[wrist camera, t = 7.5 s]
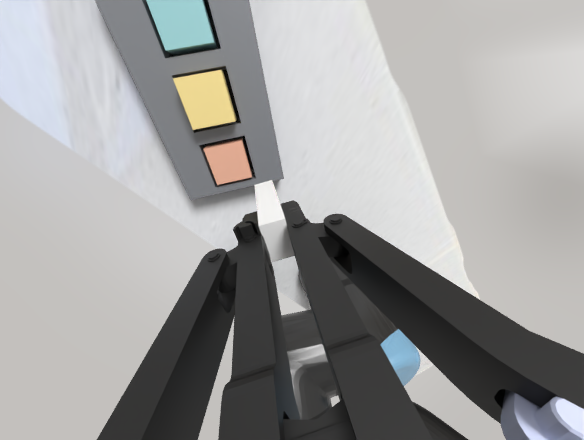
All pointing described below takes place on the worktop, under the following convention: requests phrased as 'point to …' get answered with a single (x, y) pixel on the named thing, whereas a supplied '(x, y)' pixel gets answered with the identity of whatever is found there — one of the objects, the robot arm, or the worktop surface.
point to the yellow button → (206, 99)
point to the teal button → (183, 25)
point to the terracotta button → (228, 160)
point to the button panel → (163, 68)
